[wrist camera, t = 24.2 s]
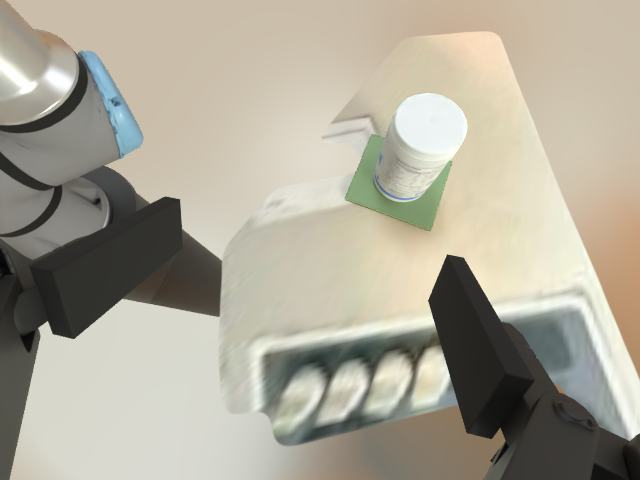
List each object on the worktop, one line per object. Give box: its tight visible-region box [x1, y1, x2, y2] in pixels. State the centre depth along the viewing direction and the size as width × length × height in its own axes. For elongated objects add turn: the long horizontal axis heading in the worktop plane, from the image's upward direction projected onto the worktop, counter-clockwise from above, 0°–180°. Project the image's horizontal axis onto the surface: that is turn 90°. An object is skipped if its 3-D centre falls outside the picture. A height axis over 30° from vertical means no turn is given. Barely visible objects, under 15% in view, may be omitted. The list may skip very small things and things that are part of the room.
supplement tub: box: [374, 93, 467, 202], centre depth 44 cm, size 10×10×15 cm
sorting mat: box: [345, 134, 452, 231], centre depth 51 cm, size 15×14×1 cm
